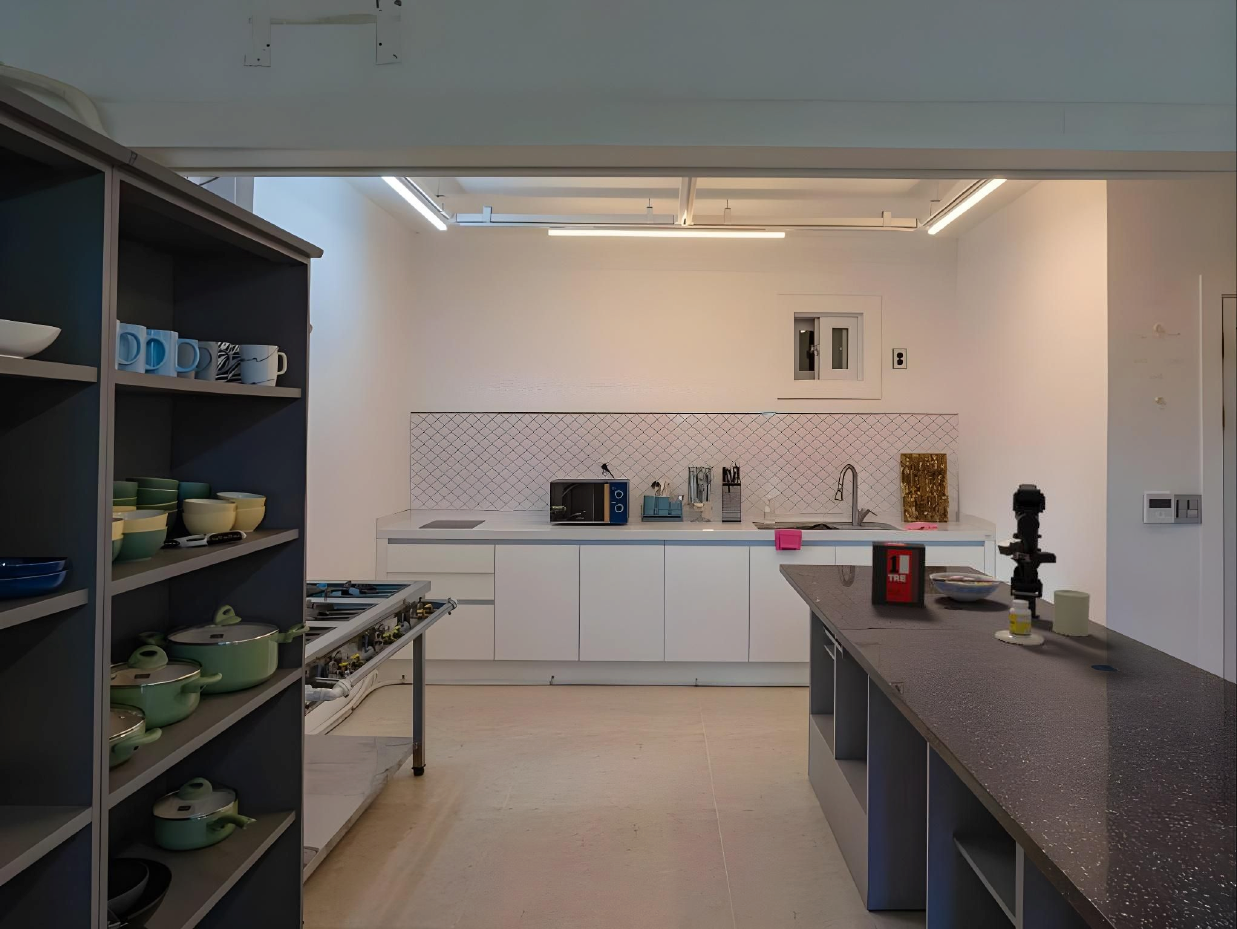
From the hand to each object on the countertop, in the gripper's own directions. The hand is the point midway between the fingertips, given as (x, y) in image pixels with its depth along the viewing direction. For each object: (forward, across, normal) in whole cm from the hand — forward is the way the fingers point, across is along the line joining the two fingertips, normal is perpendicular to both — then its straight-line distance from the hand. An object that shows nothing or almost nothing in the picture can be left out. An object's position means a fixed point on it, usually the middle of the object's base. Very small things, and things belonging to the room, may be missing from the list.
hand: (1026, 582), depth 233 cm
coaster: (+13, +15, -12) cm, 23 cm away
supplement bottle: (+12, +15, -12) cm, 23 cm away
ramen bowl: (+13, -36, +2) cm, 38 cm away
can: (+13, +9, +8) cm, 18 cm away
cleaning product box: (+13, -33, -24) cm, 43 cm away
